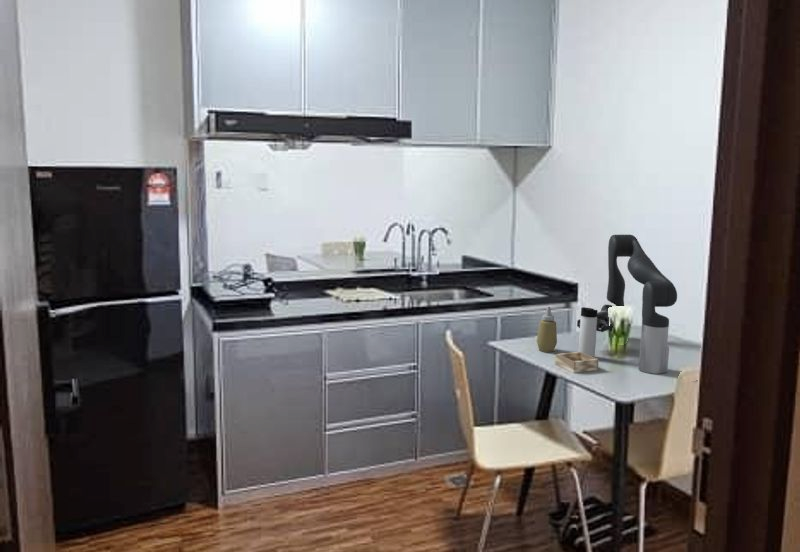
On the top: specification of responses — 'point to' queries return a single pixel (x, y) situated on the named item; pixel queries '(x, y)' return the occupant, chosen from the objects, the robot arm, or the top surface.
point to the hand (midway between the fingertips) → (591, 328)
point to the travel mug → (588, 331)
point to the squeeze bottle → (547, 332)
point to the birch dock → (576, 362)
